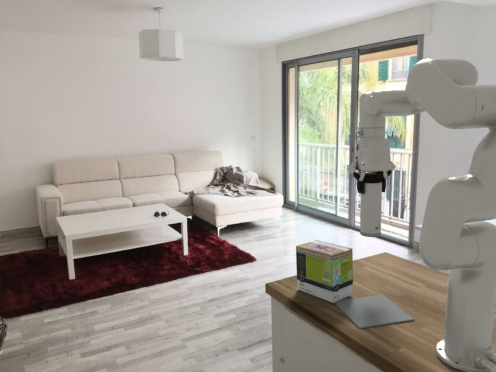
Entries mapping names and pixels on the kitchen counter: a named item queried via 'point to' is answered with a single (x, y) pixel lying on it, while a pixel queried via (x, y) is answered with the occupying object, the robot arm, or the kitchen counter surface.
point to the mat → (372, 311)
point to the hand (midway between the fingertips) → (371, 191)
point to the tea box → (325, 270)
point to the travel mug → (371, 205)
